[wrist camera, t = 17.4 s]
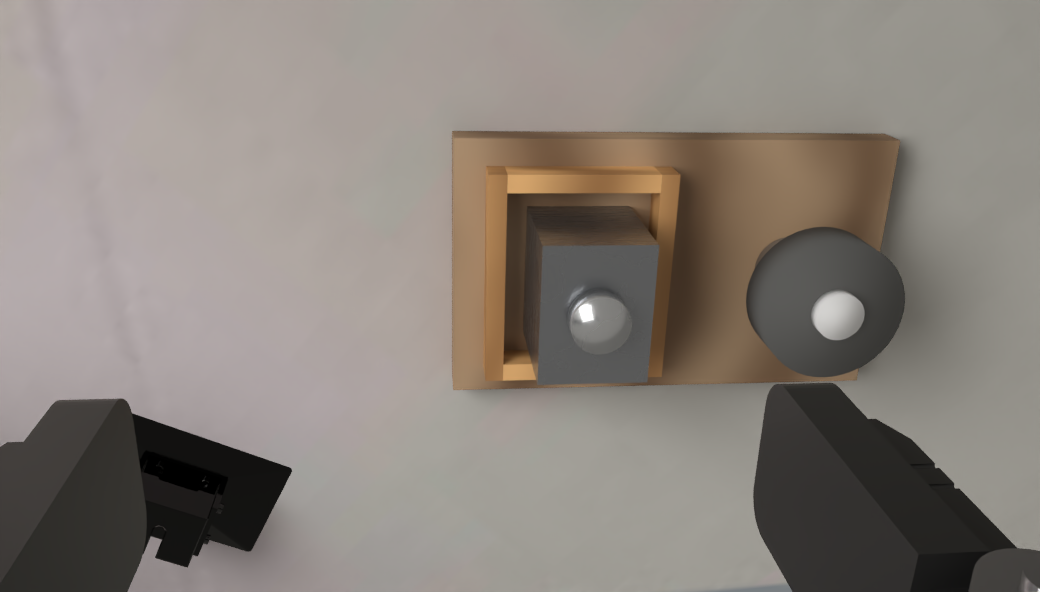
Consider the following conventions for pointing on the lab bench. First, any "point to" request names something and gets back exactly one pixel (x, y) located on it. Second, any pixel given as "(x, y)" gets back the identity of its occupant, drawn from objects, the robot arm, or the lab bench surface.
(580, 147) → the wooden base board
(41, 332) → the lab bench surface
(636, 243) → the grey box with knob
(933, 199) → the lab bench surface
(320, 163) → the lab bench surface
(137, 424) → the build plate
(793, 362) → the wheel
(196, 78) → the lab bench surface
